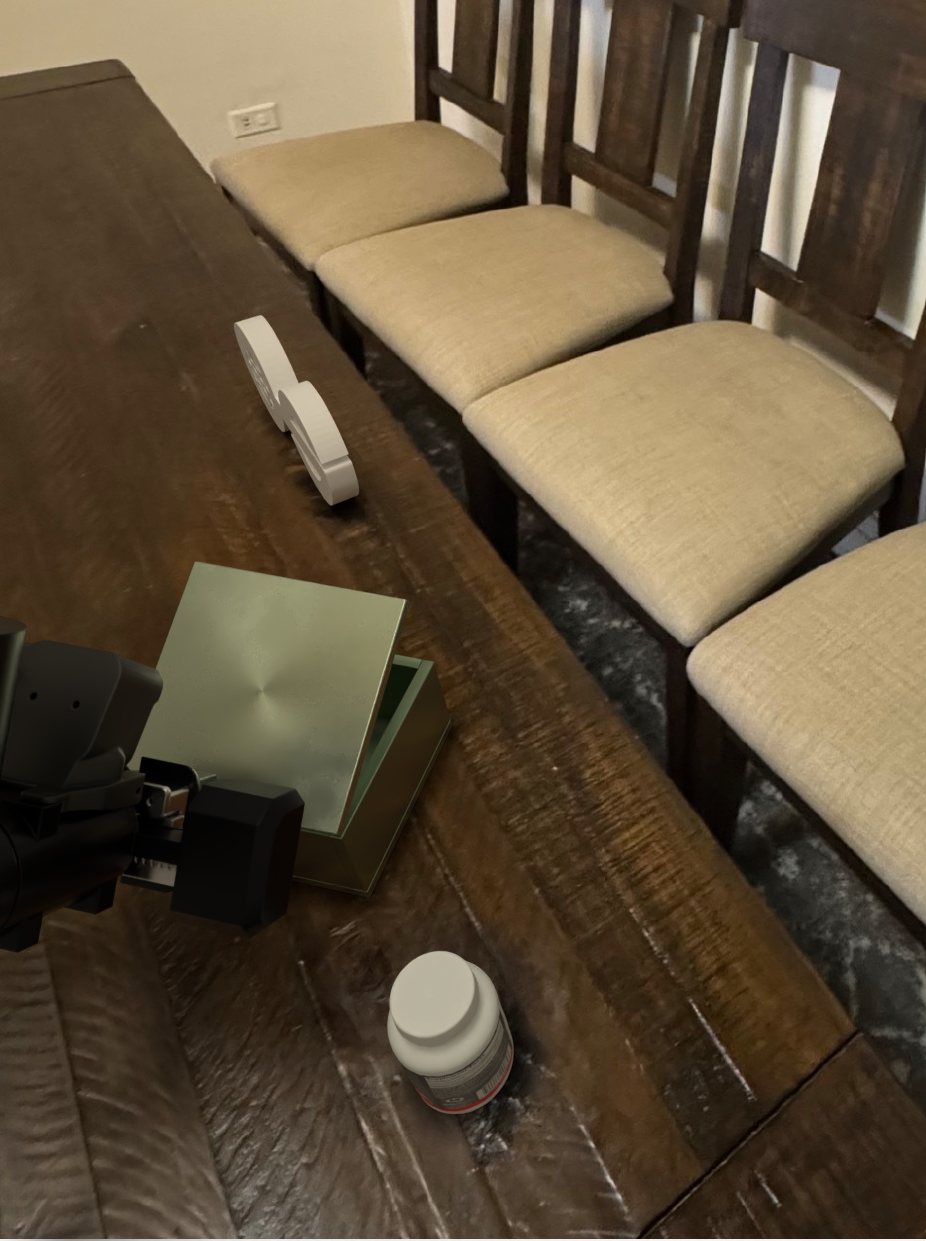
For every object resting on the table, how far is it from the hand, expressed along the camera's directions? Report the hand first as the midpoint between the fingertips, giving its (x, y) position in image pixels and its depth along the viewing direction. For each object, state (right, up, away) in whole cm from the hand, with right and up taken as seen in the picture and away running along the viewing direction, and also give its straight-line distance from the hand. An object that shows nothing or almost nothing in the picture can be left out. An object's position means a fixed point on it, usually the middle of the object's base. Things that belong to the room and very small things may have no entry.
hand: (209, 782), depth 54 cm
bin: (+1, -3, +12) cm, 12 cm away
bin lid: (+1, +4, +4) cm, 6 cm away
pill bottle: (+14, -15, 0) cm, 21 cm away
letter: (-10, +20, +36) cm, 42 cm away
